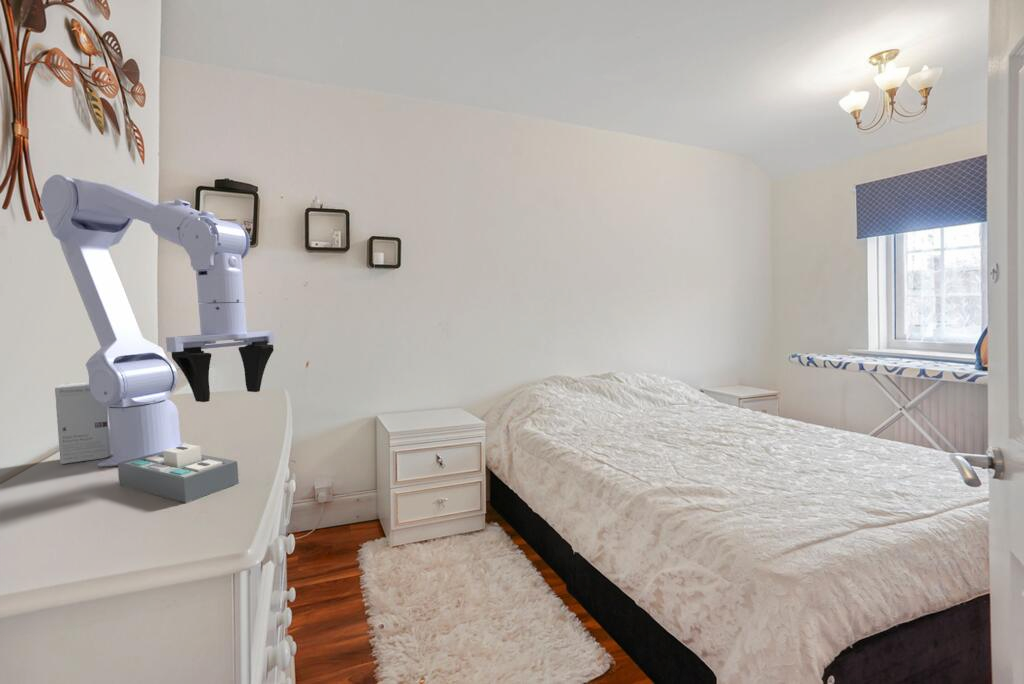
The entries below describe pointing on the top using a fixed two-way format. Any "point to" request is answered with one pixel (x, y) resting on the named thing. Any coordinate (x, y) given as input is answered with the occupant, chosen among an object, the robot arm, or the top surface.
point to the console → (177, 478)
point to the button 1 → (156, 458)
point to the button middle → (182, 455)
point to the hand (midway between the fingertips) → (229, 396)
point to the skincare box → (81, 424)
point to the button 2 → (203, 465)
